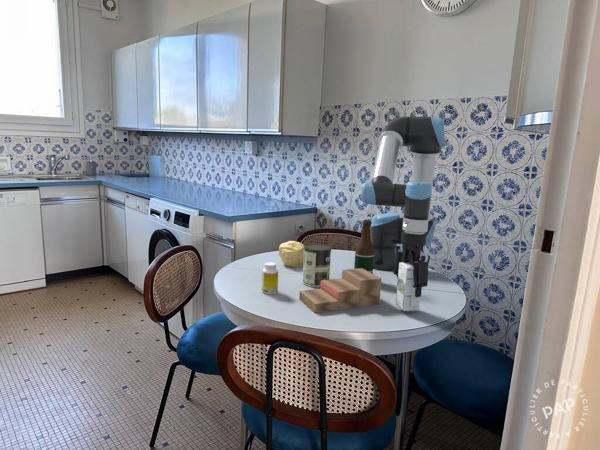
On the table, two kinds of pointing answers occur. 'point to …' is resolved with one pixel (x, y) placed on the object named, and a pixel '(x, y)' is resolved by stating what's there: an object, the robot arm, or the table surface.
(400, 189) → the robot arm
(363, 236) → the beer bottle
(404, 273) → the syrup box
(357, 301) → the stepped stand
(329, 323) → the table surface
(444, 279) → the table surface
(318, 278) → the coffee can
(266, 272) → the supplement bottle
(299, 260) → the sculpture
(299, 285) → the table surface
